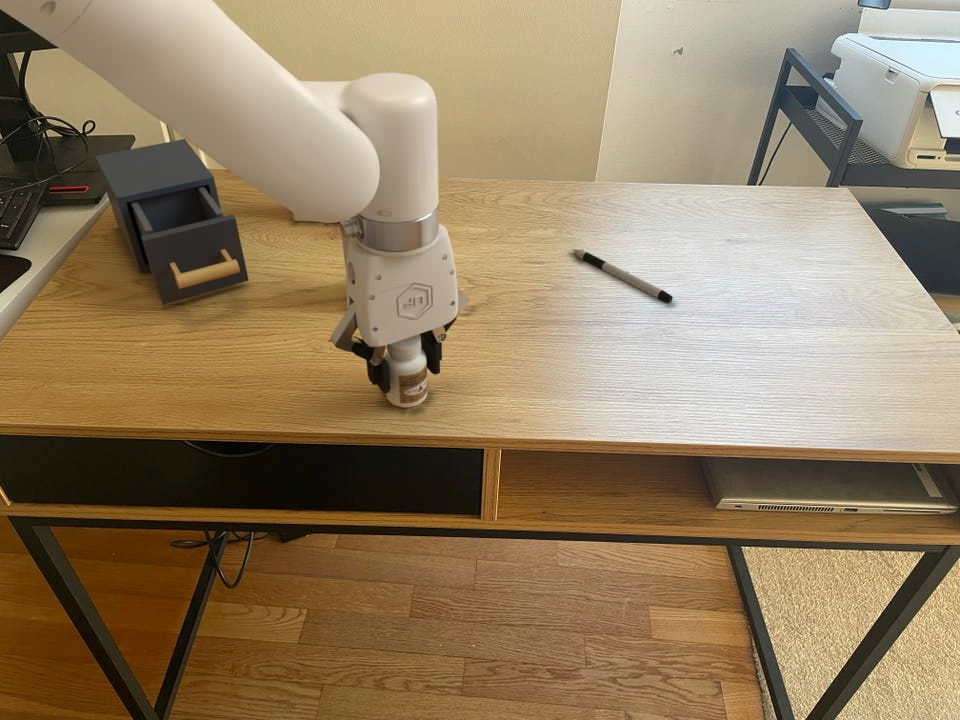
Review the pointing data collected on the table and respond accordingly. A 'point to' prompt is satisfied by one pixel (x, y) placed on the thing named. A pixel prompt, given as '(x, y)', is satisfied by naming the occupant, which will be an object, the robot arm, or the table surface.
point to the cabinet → (150, 183)
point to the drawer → (189, 243)
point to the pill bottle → (407, 372)
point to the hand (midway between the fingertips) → (405, 374)
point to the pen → (624, 275)
